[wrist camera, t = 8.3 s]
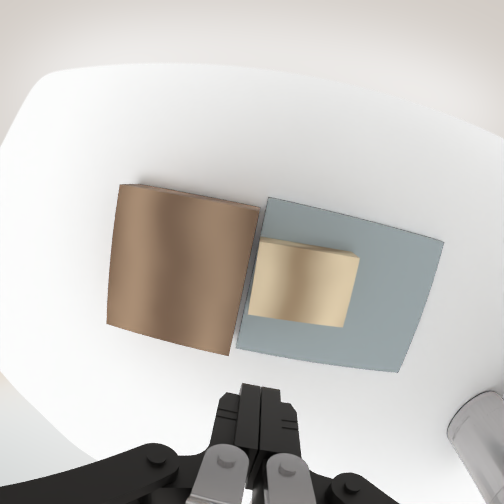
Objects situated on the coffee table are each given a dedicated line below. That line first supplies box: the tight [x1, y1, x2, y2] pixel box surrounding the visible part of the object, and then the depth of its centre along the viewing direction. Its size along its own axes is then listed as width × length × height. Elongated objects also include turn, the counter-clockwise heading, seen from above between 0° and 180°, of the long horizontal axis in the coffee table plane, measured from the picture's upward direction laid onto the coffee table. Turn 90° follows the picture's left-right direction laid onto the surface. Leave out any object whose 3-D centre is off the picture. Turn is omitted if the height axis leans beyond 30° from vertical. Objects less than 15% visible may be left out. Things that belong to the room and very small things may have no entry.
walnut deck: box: [107, 184, 260, 356], centre depth 26 cm, size 11×12×4 cm
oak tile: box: [248, 237, 360, 328], centre depth 26 cm, size 8×6×2 cm
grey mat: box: [236, 197, 444, 373], centre depth 28 cm, size 17×14×1 cm
